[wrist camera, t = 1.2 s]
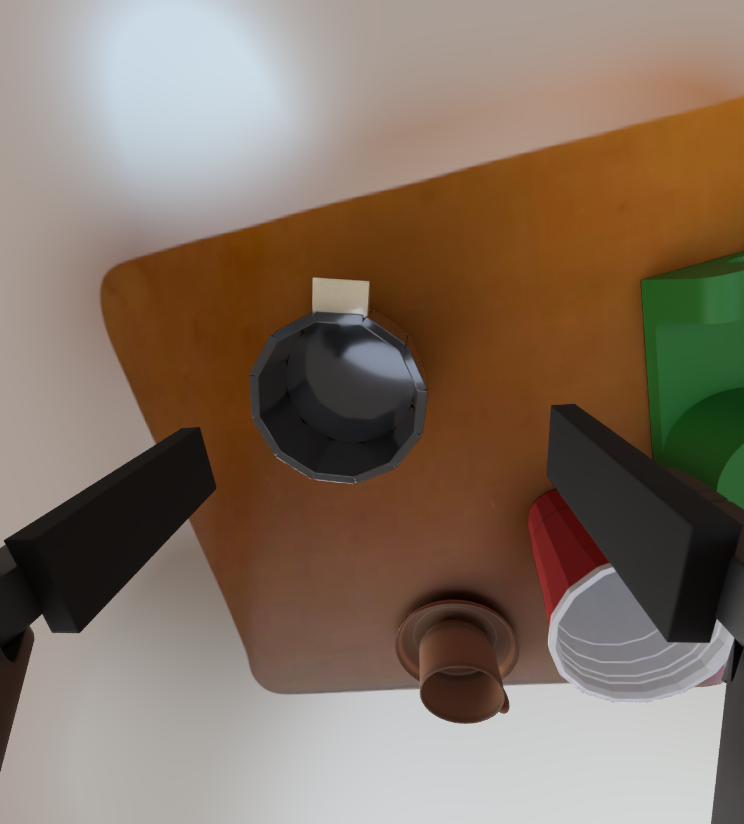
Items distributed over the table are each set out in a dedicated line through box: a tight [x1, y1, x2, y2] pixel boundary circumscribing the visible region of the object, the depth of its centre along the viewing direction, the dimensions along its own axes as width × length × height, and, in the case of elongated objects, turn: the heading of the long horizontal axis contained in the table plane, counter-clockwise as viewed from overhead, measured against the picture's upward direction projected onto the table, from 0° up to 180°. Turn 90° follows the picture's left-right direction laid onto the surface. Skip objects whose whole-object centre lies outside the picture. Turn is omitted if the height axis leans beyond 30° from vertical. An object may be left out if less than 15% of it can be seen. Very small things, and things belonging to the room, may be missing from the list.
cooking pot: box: [249, 278, 428, 484], centre depth 25 cm, size 13×11×6 cm
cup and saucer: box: [395, 600, 519, 724], centre depth 34 cm, size 12×12×6 cm
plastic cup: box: [528, 489, 734, 702], centre depth 26 cm, size 11×11×12 cm
